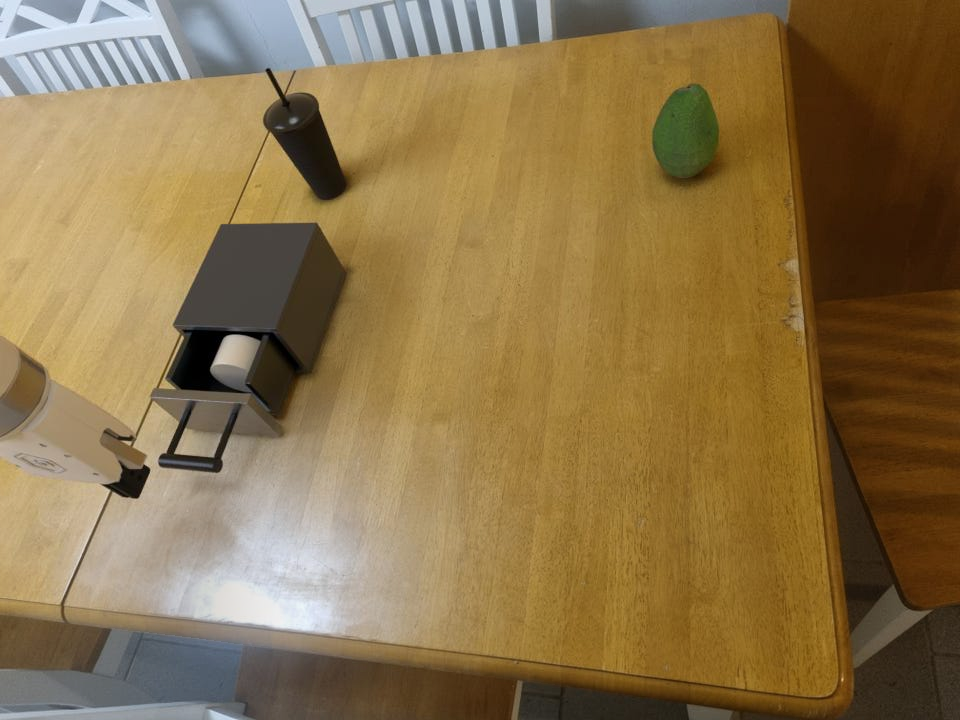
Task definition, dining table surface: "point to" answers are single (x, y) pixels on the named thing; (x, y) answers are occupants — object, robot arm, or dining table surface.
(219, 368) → the white cylindrical puck
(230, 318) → the cabinet
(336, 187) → the drinking cup
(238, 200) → the dining table surface
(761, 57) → the dining table surface
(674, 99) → the fruit
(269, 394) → the drawer
